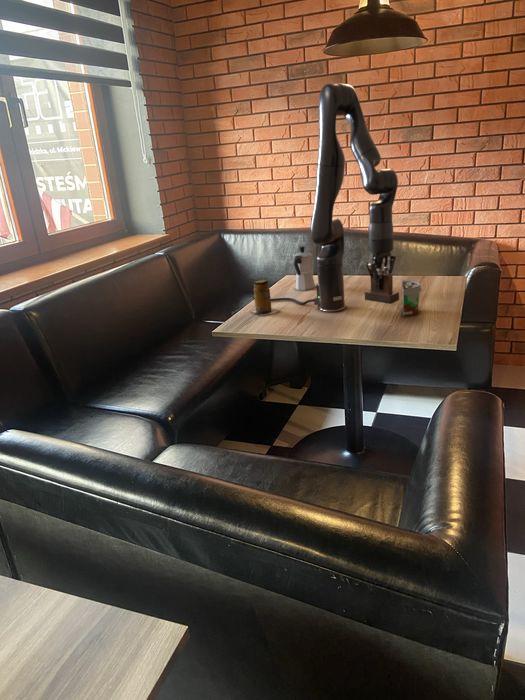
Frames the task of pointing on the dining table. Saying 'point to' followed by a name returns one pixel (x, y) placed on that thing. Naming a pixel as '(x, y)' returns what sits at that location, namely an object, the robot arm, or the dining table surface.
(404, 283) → the food container
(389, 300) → the brown stepped block
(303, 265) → the coffee maker
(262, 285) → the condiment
